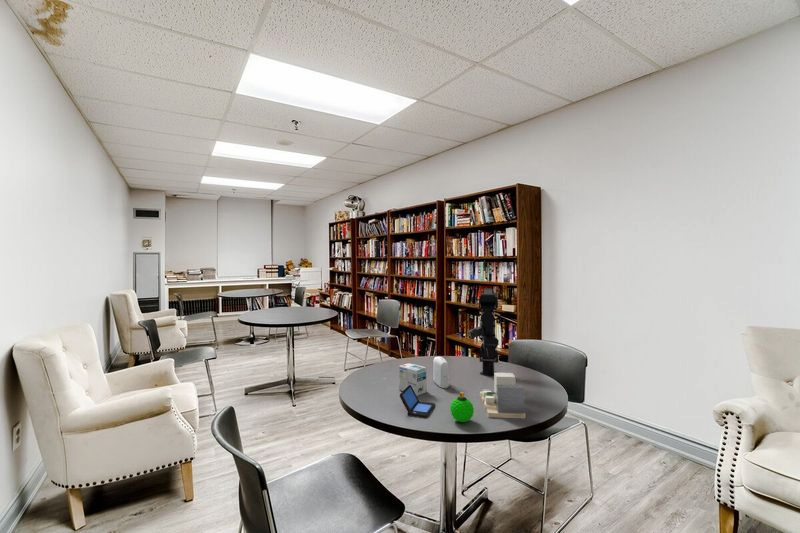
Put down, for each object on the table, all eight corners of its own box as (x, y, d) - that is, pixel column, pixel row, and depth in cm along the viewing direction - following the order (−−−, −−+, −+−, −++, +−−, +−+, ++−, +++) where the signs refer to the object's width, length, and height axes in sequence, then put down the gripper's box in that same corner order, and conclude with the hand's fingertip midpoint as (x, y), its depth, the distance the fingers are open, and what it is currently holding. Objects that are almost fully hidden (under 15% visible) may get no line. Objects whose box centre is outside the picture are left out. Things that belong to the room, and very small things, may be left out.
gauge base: (480, 394, 149) (479, 385, 149) (511, 395, 148) (511, 386, 148) (488, 417, 128) (488, 406, 127) (525, 418, 126) (525, 407, 126)
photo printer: (450, 387, 158) (449, 359, 158) (441, 388, 156) (440, 360, 156) (440, 380, 167) (440, 354, 167) (432, 381, 166) (432, 355, 166)
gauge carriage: (485, 397, 141) (485, 372, 141) (512, 398, 140) (512, 372, 140) (488, 405, 134) (488, 378, 134) (517, 406, 133) (516, 379, 133)
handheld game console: (427, 419, 127) (427, 398, 127) (398, 415, 130) (398, 394, 130) (436, 406, 138) (436, 386, 138) (409, 402, 142) (409, 383, 142)
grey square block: (496, 409, 131) (496, 384, 131) (521, 410, 130) (521, 385, 130) (498, 412, 128) (497, 387, 128) (523, 413, 127) (523, 388, 127)
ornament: (445, 422, 124) (445, 393, 124) (457, 414, 130) (457, 386, 130) (466, 428, 119) (466, 398, 119) (478, 420, 125) (478, 392, 125)
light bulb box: (427, 392, 153) (427, 366, 153) (417, 396, 148) (417, 370, 148) (408, 386, 160) (408, 362, 160) (398, 390, 155) (398, 365, 155)
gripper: (467, 318, 170) (467, 351, 170) (472, 325, 152) (472, 361, 152) (491, 318, 169) (491, 351, 169) (498, 325, 151) (498, 362, 151)
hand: (487, 356), depth 160 cm, fingers open, 9 cm apart
